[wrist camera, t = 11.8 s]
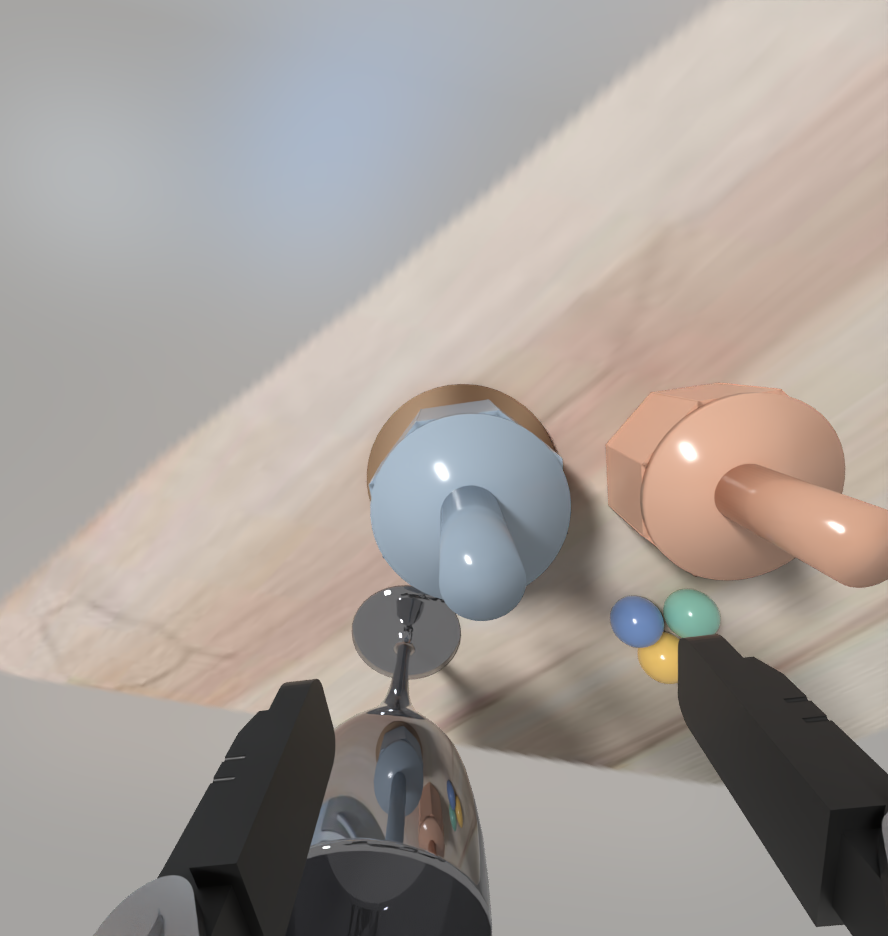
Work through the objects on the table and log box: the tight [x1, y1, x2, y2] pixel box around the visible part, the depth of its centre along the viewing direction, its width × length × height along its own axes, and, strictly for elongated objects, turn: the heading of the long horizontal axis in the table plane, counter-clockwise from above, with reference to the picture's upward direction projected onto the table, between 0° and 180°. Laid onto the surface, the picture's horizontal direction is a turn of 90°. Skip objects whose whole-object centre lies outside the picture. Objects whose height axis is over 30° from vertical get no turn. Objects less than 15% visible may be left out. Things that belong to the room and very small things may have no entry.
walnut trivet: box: [367, 384, 554, 502], centre depth 25 cm, size 11×11×1 cm
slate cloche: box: [369, 399, 571, 621], centre depth 19 cm, size 9×9×11 cm
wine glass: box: [285, 585, 492, 936], centre depth 20 cm, size 8×8×15 cm
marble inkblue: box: [610, 596, 664, 648], centre depth 26 cm, size 3×3×3 cm
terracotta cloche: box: [606, 383, 888, 588], centre depth 19 cm, size 9×9×11 cm
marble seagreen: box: [663, 589, 720, 638], centre depth 26 cm, size 3×3×3 cm
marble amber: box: [638, 632, 680, 684], centre depth 26 cm, size 3×3×3 cm
